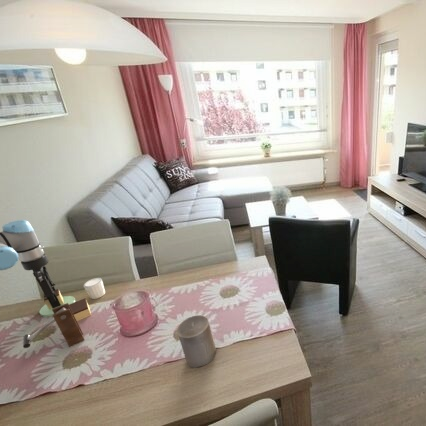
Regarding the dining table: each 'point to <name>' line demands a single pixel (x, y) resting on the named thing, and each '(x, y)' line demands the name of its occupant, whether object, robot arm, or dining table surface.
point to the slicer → (38, 332)
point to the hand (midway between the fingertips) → (56, 303)
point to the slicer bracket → (68, 325)
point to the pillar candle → (197, 341)
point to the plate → (48, 312)
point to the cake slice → (57, 297)
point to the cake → (80, 309)
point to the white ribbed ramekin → (94, 288)
